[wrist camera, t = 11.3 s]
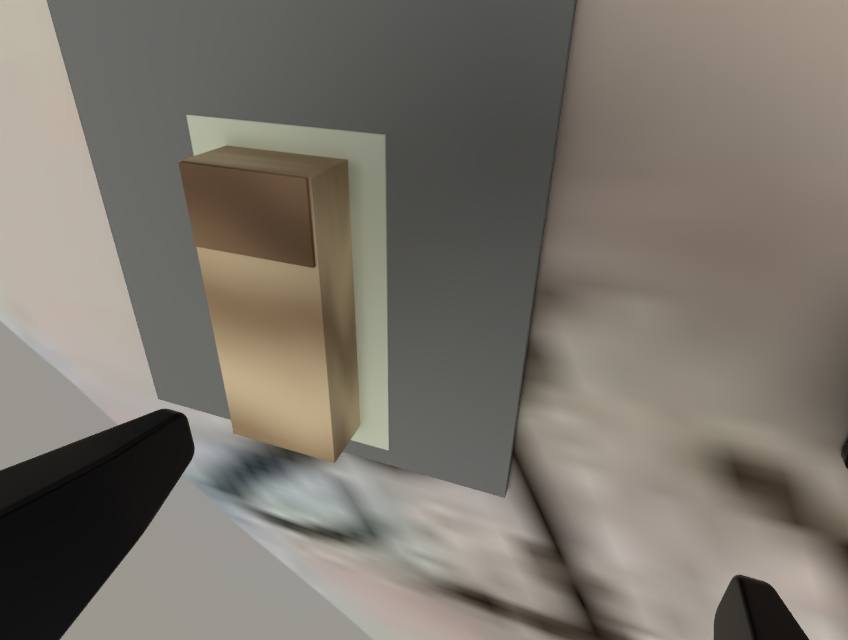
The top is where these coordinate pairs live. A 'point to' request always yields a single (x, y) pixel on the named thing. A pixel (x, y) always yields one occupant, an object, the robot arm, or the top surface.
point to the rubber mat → (368, 187)
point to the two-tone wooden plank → (279, 292)
